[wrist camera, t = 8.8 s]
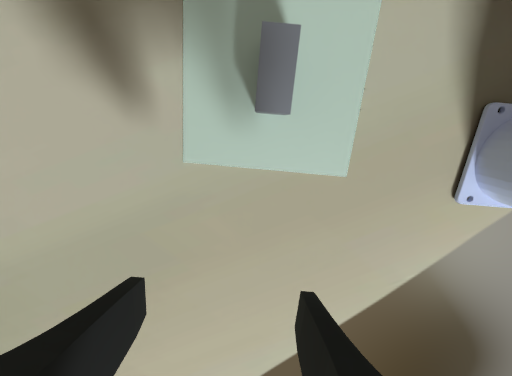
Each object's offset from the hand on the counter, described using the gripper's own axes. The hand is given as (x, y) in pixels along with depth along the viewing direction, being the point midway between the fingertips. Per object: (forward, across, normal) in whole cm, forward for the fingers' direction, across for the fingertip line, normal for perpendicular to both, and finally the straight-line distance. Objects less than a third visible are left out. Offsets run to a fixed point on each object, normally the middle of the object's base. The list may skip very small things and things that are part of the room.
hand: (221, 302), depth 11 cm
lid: (+11, -2, -11) cm, 16 cm away
